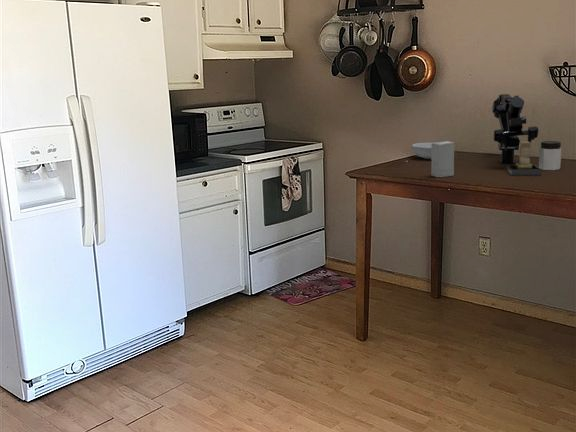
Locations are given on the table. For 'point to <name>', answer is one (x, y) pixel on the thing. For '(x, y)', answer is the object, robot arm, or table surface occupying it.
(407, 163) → the table surface
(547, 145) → the jar
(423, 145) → the serving bowl
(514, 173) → the gray square tray
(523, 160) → the tan square peg
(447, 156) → the skincare box
